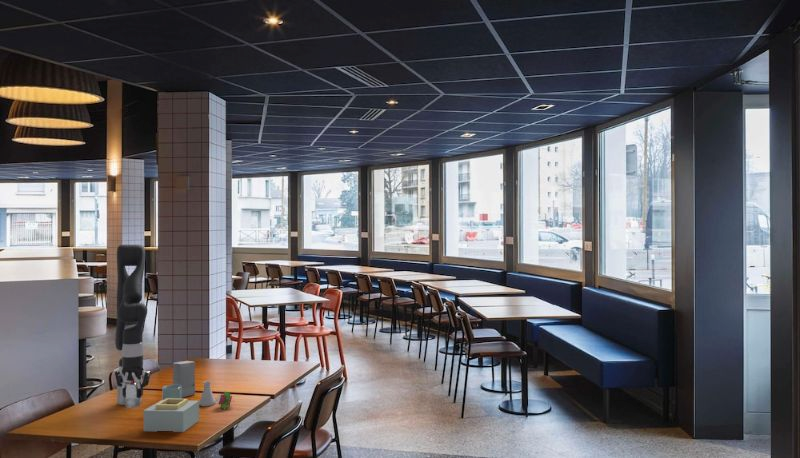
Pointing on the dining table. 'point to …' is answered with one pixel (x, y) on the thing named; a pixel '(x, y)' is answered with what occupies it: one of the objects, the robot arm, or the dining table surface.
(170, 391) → the cup
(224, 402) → the geometric puzzle
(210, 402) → the flask
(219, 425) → the dining table surface
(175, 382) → the skincare box
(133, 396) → the spout can
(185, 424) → the box with square opening
